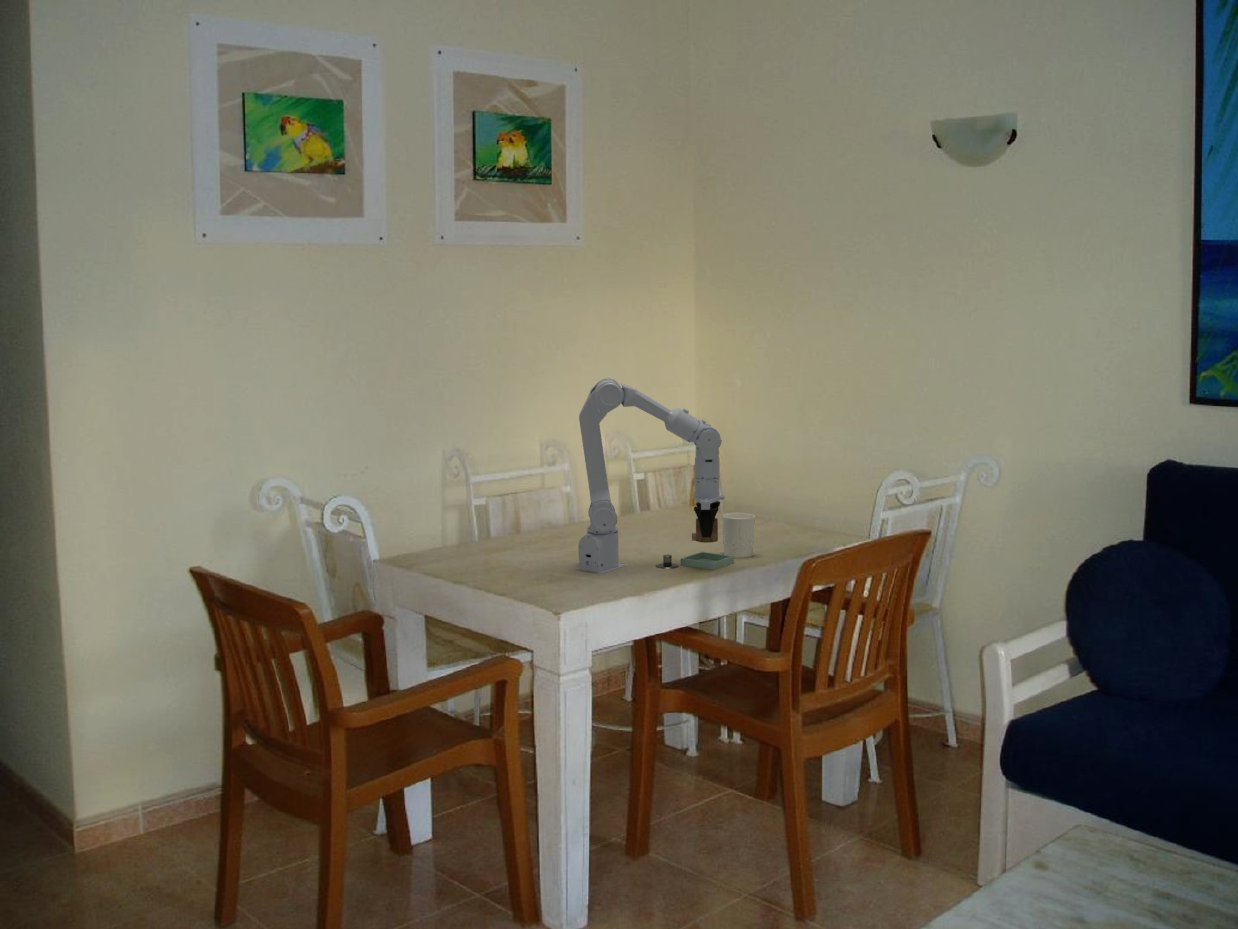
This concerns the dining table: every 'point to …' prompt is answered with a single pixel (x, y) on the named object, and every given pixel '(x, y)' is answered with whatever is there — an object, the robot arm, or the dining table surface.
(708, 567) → the tray
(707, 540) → the brown hollow octagonal cylinder
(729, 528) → the white cup
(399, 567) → the dining table surface
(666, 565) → the dark grey round stand
